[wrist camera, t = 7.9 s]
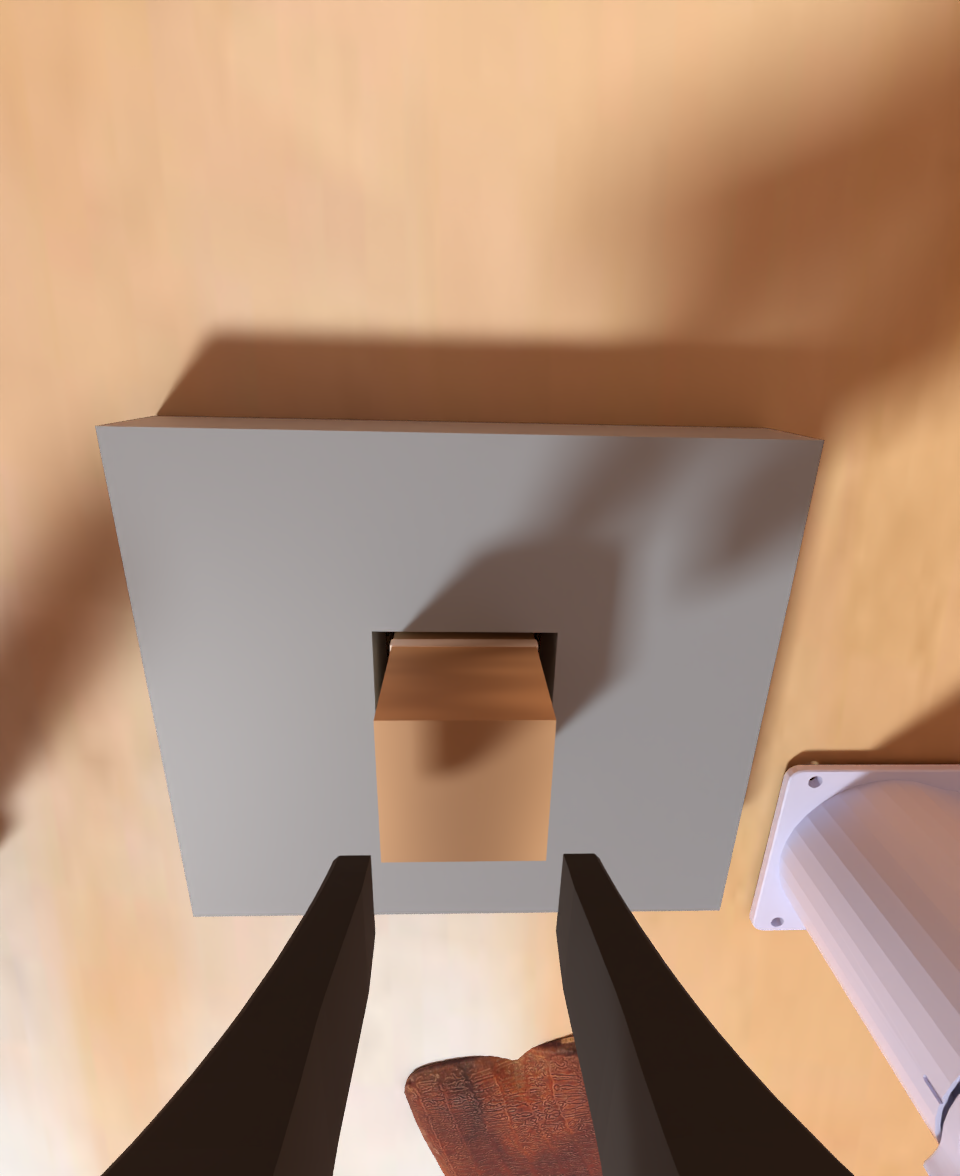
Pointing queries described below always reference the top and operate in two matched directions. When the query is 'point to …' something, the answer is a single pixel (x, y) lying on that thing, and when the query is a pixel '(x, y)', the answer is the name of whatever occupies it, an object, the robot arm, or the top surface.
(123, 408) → the top surface
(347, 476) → the slate board
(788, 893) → the robot arm
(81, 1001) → the top surface
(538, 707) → the oak peg
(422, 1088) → the wooden tablet
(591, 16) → the top surface
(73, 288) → the top surface
